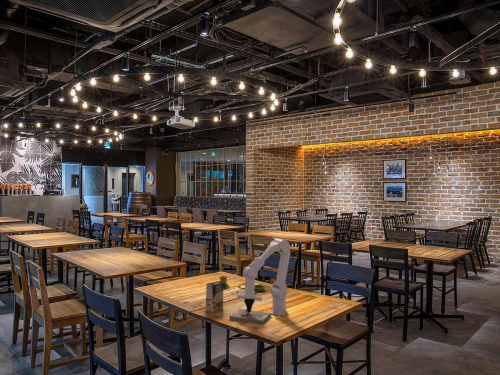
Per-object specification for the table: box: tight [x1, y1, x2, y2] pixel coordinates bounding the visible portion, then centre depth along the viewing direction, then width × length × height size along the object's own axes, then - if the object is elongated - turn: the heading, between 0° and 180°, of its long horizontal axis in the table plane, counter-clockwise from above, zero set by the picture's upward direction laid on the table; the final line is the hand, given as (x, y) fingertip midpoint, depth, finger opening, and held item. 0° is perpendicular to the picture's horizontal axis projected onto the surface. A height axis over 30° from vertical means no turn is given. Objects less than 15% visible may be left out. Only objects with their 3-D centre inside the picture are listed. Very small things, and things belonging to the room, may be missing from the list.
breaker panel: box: [229, 308, 272, 325], centre depth 223 cm, size 20×14×2 cm
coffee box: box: [205, 281, 224, 313], centre depth 238 cm, size 9×6×16 cm
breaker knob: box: [240, 305, 249, 315], centre depth 224 cm, size 3×6×3 cm, turn 158°
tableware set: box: [216, 275, 266, 295], centre depth 291 cm, size 41×28×6 cm
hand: (249, 311), depth 223 cm, fingers closed
